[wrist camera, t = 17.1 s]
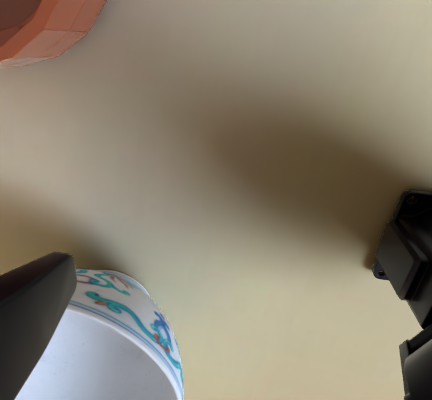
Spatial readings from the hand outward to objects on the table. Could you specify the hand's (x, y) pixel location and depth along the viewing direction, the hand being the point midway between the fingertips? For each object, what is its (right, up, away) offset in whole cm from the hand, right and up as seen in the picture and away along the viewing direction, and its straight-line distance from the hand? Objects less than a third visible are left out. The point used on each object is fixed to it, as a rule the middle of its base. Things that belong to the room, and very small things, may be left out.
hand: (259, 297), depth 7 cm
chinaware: (-9, -6, +19) cm, 22 cm away
